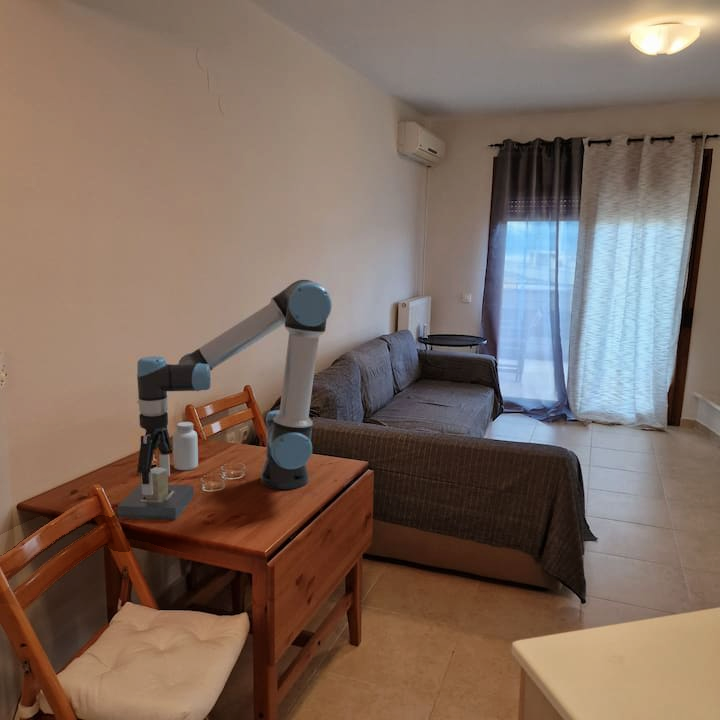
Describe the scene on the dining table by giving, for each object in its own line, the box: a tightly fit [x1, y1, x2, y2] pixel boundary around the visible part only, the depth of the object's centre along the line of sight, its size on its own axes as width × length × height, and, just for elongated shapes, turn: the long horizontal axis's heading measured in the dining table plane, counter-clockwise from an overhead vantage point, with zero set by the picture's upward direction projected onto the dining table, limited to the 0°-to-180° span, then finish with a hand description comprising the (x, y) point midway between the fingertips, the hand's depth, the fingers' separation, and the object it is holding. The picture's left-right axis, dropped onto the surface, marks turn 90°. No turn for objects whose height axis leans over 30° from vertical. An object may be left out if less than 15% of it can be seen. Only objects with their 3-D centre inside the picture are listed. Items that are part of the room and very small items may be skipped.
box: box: [145, 466, 169, 501], centre depth 177 cm, size 5×4×11 cm
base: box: [117, 482, 195, 521], centre depth 178 cm, size 16×16×4 cm
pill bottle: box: [172, 421, 199, 471], centre depth 208 cm, size 8×8×15 cm
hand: (156, 484), depth 177 cm, fingers open, 13 cm apart
